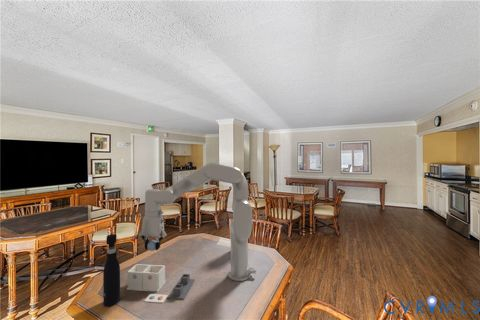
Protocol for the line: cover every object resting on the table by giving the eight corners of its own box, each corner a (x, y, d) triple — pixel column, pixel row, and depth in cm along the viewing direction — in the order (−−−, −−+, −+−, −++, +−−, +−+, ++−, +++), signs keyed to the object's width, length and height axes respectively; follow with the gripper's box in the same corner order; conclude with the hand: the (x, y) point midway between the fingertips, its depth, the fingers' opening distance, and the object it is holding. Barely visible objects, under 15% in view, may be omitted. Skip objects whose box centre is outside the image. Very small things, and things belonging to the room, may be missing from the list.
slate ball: (159, 248, 107) (159, 239, 107) (154, 252, 102) (154, 242, 102) (150, 248, 108) (150, 238, 108) (145, 252, 103) (145, 242, 103)
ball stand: (194, 280, 108) (194, 273, 108) (183, 299, 93) (183, 291, 93) (180, 279, 109) (180, 272, 109) (167, 298, 94) (167, 290, 94)
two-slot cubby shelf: (166, 281, 108) (166, 265, 108) (158, 291, 99) (157, 273, 99) (136, 279, 109) (136, 263, 109) (126, 289, 101) (126, 272, 101)
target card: (168, 295, 96) (168, 294, 96) (163, 302, 91) (163, 301, 91) (150, 294, 97) (150, 293, 97) (144, 301, 92) (144, 300, 92)
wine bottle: (123, 296, 96) (122, 232, 96) (115, 306, 89) (114, 237, 89) (109, 297, 95) (108, 233, 96) (100, 307, 89) (99, 238, 89)
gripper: (172, 212, 108) (171, 246, 108) (141, 211, 110) (141, 245, 110) (165, 216, 101) (164, 253, 100) (132, 214, 102) (132, 251, 102)
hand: (152, 248), depth 105 cm, fingers closed on slate ball, 4 cm apart
